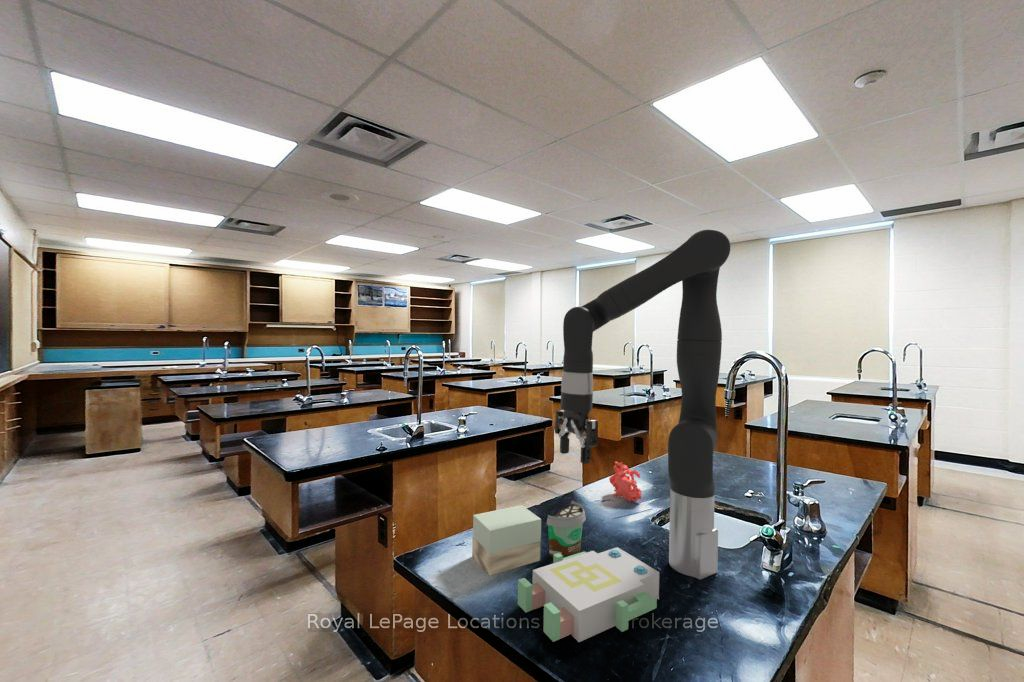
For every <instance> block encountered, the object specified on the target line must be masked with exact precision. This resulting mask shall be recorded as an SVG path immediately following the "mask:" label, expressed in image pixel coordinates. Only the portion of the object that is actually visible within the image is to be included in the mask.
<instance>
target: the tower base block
mask: <svg viewBox="0 0 1024 682" xmlns="http://www.w3.org/2000/svg"><path fill="white" fill-rule="evenodd" d="M471 541H472V542H471V543H472V544H471V545H472V546H471V547H472V548H471V549H472V551H471V553H472V554H471V556H472V558H473V560H474V561H476V562H477V564H479V566H480V567H481V568H482V567H483V568H484V569H485V570H486V571H485V570H484V569H483V568H482V569H483V570H484V571H485V572H486V573H487V574H488V576H490V575H491V576H494V575H497V574H500V573H504V572H506V571H510V570H513V569H517V568H520V567H523V566H526V565H529V564H533V563H536V562H540V561H541V541H538V542H534V543H530V544H526V545H522V546H519V547H515V548H511V549H507V550H503V551H499V552H495V553H491V554H489V553H488V552H487V551H486V549H485V548H484V547H483V546H482V545H481V544H480V543H479V542H478V541H477V540H476V539H475V538H474V537H473V536H472V539H471ZM493 574H494V575H493Z"/></svg>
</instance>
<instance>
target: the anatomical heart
mask: <svg viewBox="0 0 1024 682" xmlns="http://www.w3.org/2000/svg"><path fill="white" fill-rule="evenodd" d="M614 463H615V465H614V466H613V469H614V472H615V473H614V474H613V475H610V477H609V479H608V480H609V482H610V484H611V486H612V487H613V488H614V489H613V491H614V496H615V497H618V496H619V497H620V498H621V497H622V496H623V499H625V501H628V502H629V503H630V502H637V501H638V500H642V490H641V489H640V488H638V485H637V483H638V482H637V480H635V477H634V475H635V476H636V477H637V478H638V479H640V478H641V475H640V473H639V471H637V470H636V469H634V470H630V469H629V467H628V465H627V464H623V462H618V461H614ZM618 467H619V468H618Z"/></svg>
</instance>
